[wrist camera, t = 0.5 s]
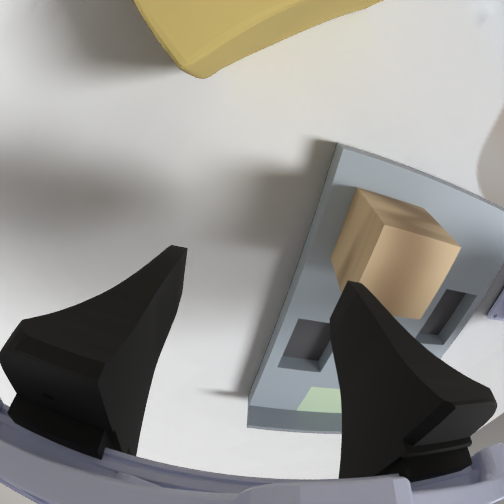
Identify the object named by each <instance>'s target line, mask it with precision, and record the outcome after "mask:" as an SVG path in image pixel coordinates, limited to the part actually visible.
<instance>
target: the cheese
mask: <svg viewBox="0 0 504 504" xmlns="http://www.w3.org/2000/svg"><path fill="white" fill-rule="evenodd" d="M380 1H383V0H133V2H134V3H135V5H136V7H137V9H138V10H139V12H140V14H141V16H142V17H143V19H144V20H145V22H146V23H147V25H148V26H149V28H150V29H151V31H152V32H153V34H154V35H155V37H156V38H157V40H158V41H159V43H160V44H161V46H162V47H163V48H164V50H165V51H166V52H167V53H168V55H169V56H170V57H171V59H172V60H173V61H174V62H175V64H176V65H177V66H178V67H179V68H180V69H181V70H182V71H184V72H186V73H188V74H190V75H192V76H194V77H196V78H201V79H205V78H208V77H210V76H211V75H213V74H215V73H216V72H217V71H219V70H220V69H222V68H223V67H226V66H228V65H230V64H232V63H234V62H236V61H238V60H240V59H242V58H244V57H246V56H248V55H250V54H253V53H255V52H257V51H259V50H261V49H264V48H266V47H268V46H270V45H273V44H275V43H277V42H279V41H281V40H284V39H286V38H288V37H290V36H293V35H295V34H297V33H299V32H302V31H304V30H306V29H309V28H311V27H314V26H316V25H319V24H321V23H323V22H326V21H328V20H331V19H334V18H336V17H339V16H342V15H345V14H348V13H351V12H355V11H358V10H361V9H365V8H368V7H370V6H372V5H374V4H376V3H378V2H380Z"/></svg>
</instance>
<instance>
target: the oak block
mask: <svg viewBox="0 0 504 504" xmlns="http://www.w3.org/2000/svg"><path fill="white" fill-rule="evenodd" d="M460 249H461V247H460V245H459V244H458V243H457V242H456V241H455V240H454V239H453V238H452V237H451V236H450V235H449V234H448V232H447V231H446V230H445V229H444V228H443V227H442V226H441V225H440V224H439V223H438V222H437V221H436V220H435V219H434V218H433V217H432V216H431V215H430V214H429V213H428V212H427V211H426V210H425V209H424V208H421V207H419V206H416V205H413V204H410V203H407V202H403V201H400V200H397V199H394V198H391V197H388V196H385V195H381V194H378V193H375V192H372V191H368V190H365V189H361V188H358V187H357V188H356V191H355V193H354V196H353V199H352V202H351V205H350V207H349V210H348V213H347V216H346V218H345V221H344V224H343V226H342V229H341V232H340V234H339V237H338V240H337V242H336V245H335V247H334V250H333V253H332V255H331V261H332V264H333V267H334V271H335V274H336V277H337V280H338V283H339V287H340V290H341V293H342V292H343V290H344V287H345V285H346V283H347V281H353V282H359V283H362V284H363V285H364V286H365V287H366V288H367V289H368V290H369V291H370V292H371V293H372V294H373V295H374V296H375V297H376V298H377V299H378V300H379V301H380V302H381V304H382V305H383V306H384V307H385V308H386V309H387V310H388V311H389V312H390V313H391V315H392V316H398V317H405V318H412V319H419V320H420V319H421V317H422V316H423V314H424V312H425V311H426V309H427V308H428V306H429V304H430V303H431V301H432V299H433V298H434V296H435V294H436V293H437V291H438V289H439V288H440V286H441V284H442V282H443V281H444V279H445V277H446V275H447V274H448V272H449V270H450V268H451V266H452V264H453V262H454V261H455V259H456V257H457V255H458V253H459V251H460Z"/></svg>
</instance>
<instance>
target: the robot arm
mask: <svg viewBox="0 0 504 504" xmlns="http://www.w3.org/2000/svg"><path fill="white" fill-rule="evenodd" d="M186 255H187V248H184V247H179V246H174V245H171V246H169V247H168V248H166V249H165V250H164V251H163V252H162V253H160V254H159V255H158V256H157V257H156V258H154V259H153V260H152V261H151V262H149V263H148V264H147V265H145V266H144V267H143V268H142V269H140V270H139V271H138V272H136V273H135V274H133V275H132V276H130V277H129V278H127V279H126V280H124V281H123V282H121V283H120V284H118V285H117V286H115V287H113V288H111V289H110V290H108V291H106V292H104V293H102V294H100V295H98V296H96V297H93V298H91V299H89V300H87V301H84V302H82V303H80V304H77V305H75V306H72V307H69V308H66V309H63V310H60V311H57V312H54V313H50V314H47V315H42V316H38V317H34V318H29V319H24V320H22V321H21V322H20V324H19V325H18V326H17V327H16V329H15V330H14V332H13V333H12V334H11V336H10V337H9V339H8V340H7V342H6V343H5V345H4V347H3V348H2V350H1V351H0V364H1V366H2V368H3V371H4V372H5V374H6V376H7V378H8V379H9V381H10V383H11V385H12V386H13V388H14V390H15V391H16V393H17V394H16V396H15V398H14V400H13V402H12V404H11V406H10V407H9V406H7V405H5V404H4V403H3V402H2V400H1V398H0V482H1V483H2V484H4V485H6V486H7V487H9V488H11V489H13V490H14V491H16V492H17V493H19V494H21V495H23V496H25V497H26V498H28V499H31V500H32V501H34V502H36V503H38V504H496V503H498V502H499V501H501V500H503V499H504V446H503V443H498V444H495V445H491V446H488V447H486V448H483V449H482V450H480V451H478V452H477V453H476V454H474V455H473V456H472V457H470V454H469V451H468V447H469V446H470V445H471V444H472V441H471V438H470V436H471V435H472V434H473V433H475V432H476V431H477V430H478V429H479V428H480V427H482V426H483V425H484V424H485V423H486V422H487V421H488V420H489V419H490V418H491V417H492V416H493V414H494V413H495V411H496V408H497V403H496V400H495V398H494V396H493V394H492V392H491V390H490V388H488V387H486V386H484V385H482V384H480V383H478V382H476V381H474V380H472V379H470V378H468V377H466V376H465V375H463V374H462V373H460V372H458V371H457V370H455V369H453V368H452V367H450V366H449V365H447V364H446V363H445V362H443V361H442V360H441V359H439V358H438V357H437V356H435V355H434V354H433V353H431V352H430V351H429V350H428V349H427V348H425V347H424V346H423V345H422V344H421V343H420V342H418V341H417V340H416V339H415V338H414V337H413V336H412V335H411V334H410V333H409V332H408V331H407V330H406V329H405V328H404V327H403V326H402V325H401V324H400V323H399V322H398V321H397V320H396V319H395V318H394V317H393V316H392V315H391V313H390V312H389V311H388V310H387V309H386V308H385V307H384V306H383V305H382V304H381V302H380V301H379V300H378V299H377V298H376V297H375V296H374V295H373V294H372V293H371V292H370V291H369V290H368V289H367V288H366V287H365V286H364V285H363V284H362V283H359V282H353V281H347V283H346V285H345V287H344V290H343V292H342V294H341V296H340V298H339V300H338V302H337V304H336V306H335V309H334V311H333V313H332V315H331V317H330V338H331V345H332V351H333V356H334V361H335V366H336V371H337V376H338V382H339V387H340V395H341V411H342V444H341V461H340V471H339V479H320V480H299V479H272V478H257V477H246V476H236V475H228V474H220V473H213V472H206V471H200V470H194V469H189V468H184V467H179V466H174V465H169V464H164V463H160V462H156V461H152V460H148V459H144V458H140V457H136V453H137V448H138V442H139V436H140V431H141V426H142V421H143V417H144V412H145V407H146V403H147V399H148V394H149V390H150V386H151V382H152V378H153V375H154V371H155V367H156V364H157V361H158V358H159V356H160V353H161V351H162V348H163V346H164V343H165V341H166V338H167V336H168V333H169V331H170V328H171V326H172V323H173V321H174V318H175V316H176V313H177V310H178V306H179V302H180V299H181V295H182V290H183V281H184V272H185V264H186ZM487 316H488V318H489V319H493V320H500V321H504V289H503V291H502V292H501V294H500V296H499V297H498V299H497V300H496V302H495V303H494V305H493V307H492V308H491V310H490V311H489V313H488V315H487Z"/></svg>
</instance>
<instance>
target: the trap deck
mask: <svg viewBox="0 0 504 504" xmlns="http://www.w3.org/2000/svg"><path fill="white" fill-rule="evenodd" d="M357 187H358V188H361V189H365V190H368V191H372V192H375V193H378V194H381V195H385V196H388V197H391V198H394V199H397V200H400V201H403V202H407V203H410V204H413V205H416V206H419V207H421V208H424V209H425V210H426V211H427V212H428V213H429V214H430V215H431V216H432V217H433V218H434V219H435V220H436V221H437V222H438V223H439V224H440V225H441V226H442V227H443V228H444V229H445V230H446V231H447V232H448V234H449V235H450V236H451V237H452V238H453V239H454V240H455V241H456V242H457V243H458V244H459V245H460V247H461V249H460V251H459V253H458V255H457V257H456V259H455V261H454V262H453V264H452V266H451V268H450V270H449V272H448V274H447V275H446V277H445V279H444V281H443V282H442V284H441V286H440V288H439V289H438V291H437V293H436V294H435V296H434V298H433V299H432V301H431V303H430V304H429V306H428V308H427V309H426V311H425V312H424V314H423V316H422V317H421V319H420V320H419V319H412V318H405V317H398V316H393V317H394V318H395V319H396V320H397V321H398V322H399V323H400V324H401V325H402V326H403V327H404V328H405V329H406V330H407V331H408V332H409V333H410V334H411V335H412V336H413V337H414V338H415V339H416V340H417V341H418V342H420V343H421V344H422V345H423V346H424V347H425V348H427V349H428V350H429V351H430V352H431V353H433V354H434V355H435V356H437V357H438V358H439V359H440V358H441V357H442V356H443V355H444V353H445V352H446V351H447V349H448V348H449V347H450V345H451V344H452V343H453V341H454V340H455V339H456V337H457V336H458V335H459V333H460V332H461V331H462V329H463V328H464V326H465V325H466V323H467V322H468V321H469V319H470V318H471V316H472V315H473V313H474V312H475V310H476V309H477V307H478V306H479V304H480V302H481V301H482V299H483V298H484V296H485V295H486V293H487V291H488V290H489V288H490V286H491V285H492V283H493V281H494V280H495V278H496V276H497V274H498V273H499V271H500V269H501V267H502V265H503V264H504V208H502V207H500V206H498V205H496V204H494V203H492V202H490V201H488V200H486V199H484V198H482V197H479V196H477V195H475V194H473V193H471V192H469V191H466V190H464V189H462V188H460V187H457V186H455V185H453V184H451V183H448V182H446V181H443V180H441V179H439V178H436V177H434V176H431V175H429V174H426V173H424V172H421V171H419V170H416V169H414V168H411V167H408V166H406V165H403V164H400V163H397V162H395V161H392V160H389V159H386V158H383V157H380V156H377V155H374V154H371V153H368V152H365V151H362V150H359V149H356V148H353V147H350V146H346V145H343V144H340V143H337V145H336V149H335V152H334V155H333V159H332V162H331V165H330V168H329V172H328V175H327V178H326V181H325V184H324V188H323V191H322V194H321V197H320V200H319V203H318V206H317V209H316V212H315V215H314V219H313V222H312V225H311V228H310V231H309V234H308V237H307V239H306V242H305V245H304V248H303V251H302V254H301V257H300V260H299V263H298V266H297V269H296V271H295V274H294V277H293V280H292V283H291V285H290V288H289V291H288V294H287V297H286V299H285V302H284V305H283V308H282V310H281V313H280V316H279V318H278V321H277V324H276V326H275V329H274V332H273V334H272V337H271V340H270V342H269V345H268V348H267V350H266V353H265V355H264V358H263V361H262V363H261V366H260V368H259V371H258V373H257V376H256V378H255V381H254V383H253V386H252V388H251V391H250V393H249V397H248V416H247V428H256V429H265V430H275V431H287V432H302V433H324V434H342V411H341V395H340V387H339V382H338V376H337V371H336V366H335V361H334V356H333V351H332V345H331V338H330V317H331V315H332V313H333V311H334V309H335V306H336V304H337V302H338V300H339V298H340V296H341V294H342V293H341V290H340V287H339V283H338V280H337V277H336V274H335V271H334V267H333V264H332V261H331V255H332V253H333V250H334V247H335V245H336V242H337V240H338V237H339V234H340V232H341V229H342V226H343V224H344V221H345V218H346V216H347V213H348V210H349V207H350V205H351V202H352V199H353V196H354V193H355V191H356V188H357Z"/></svg>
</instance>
